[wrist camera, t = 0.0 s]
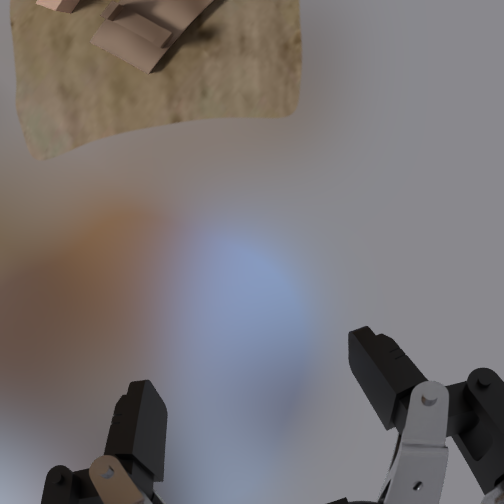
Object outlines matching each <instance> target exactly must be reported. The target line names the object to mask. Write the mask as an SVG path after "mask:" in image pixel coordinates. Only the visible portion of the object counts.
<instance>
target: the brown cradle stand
mask: <svg viewBox="0 0 504 504" xmlns="http://www.w3.org/2000/svg"><path fill="white" fill-rule="evenodd" d="M213 1H214V0H120V1H119V3H116V2H114V1H111V2H110V4H109V5H108V6H107V7H106V9H105V10H104V11H103V12H102V14H101V15H100V16H101V17H103V18H105V20H104V22H103V23H102V25H101V26H100V27H99V29H98V30H97V31H96V33H95V34H94V36H93V37H92V39H91V40H90V43H92V44H94V45H96V46H98V47H100V48H102V49H104V50H105V51H107V52H109V53H111V54H113V55H115V56H117V57H118V58H120V59H122V60H124V61H126V62H127V63H129V64H131V65H133V66H134V67H136V68H138V69H140V70H141V71H143V72H145V73H146V74H150V72H151V71H152V70H153V68H154V67H155V66H156V64H157V63H158V62H159V61H160V59H161V58H162V57H163V56H164V54H165V53H166V52H167V51H168V49H169V48H170V47H171V46H172V45H173V43H174V42H175V41H176V40H177V39H178V38H179V36H180V35H181V34H182V33H183V32H184V31H185V30H186V29H187V28H188V26H189V25H190V24H191V23H192V22H193V21H194V20H195V19H196V18H197V17H198V16H199V15H200V14H201V13H202V12H203V11H204V10H205V9H206V8H207V7H208V6H209V5H210V4H211V3H212V2H213Z"/></svg>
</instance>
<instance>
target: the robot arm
mask: <svg viewBox="0 0 504 504" xmlns="http://www.w3.org/2000/svg"><path fill="white" fill-rule="evenodd" d="M348 345H349V365H350V368H351V370H352V373H353V374H354V376H355V378H356V379H357V381H358V383H359V384H360V386H361V388H362V389H363V391H364V393H365V394H366V396H367V398H368V400H369V401H370V403H371V405H372V406H373V408H374V410H375V411H376V413H377V415H378V417H379V418H380V420H381V422H382V423H383V425H384V427H385V429H386V430H389V429H391V428H393V427H396V429H397V430H398V432H399V433H398V436H397V441H396V444H395V449H394V452H393V456H392V459H391V463H390V466H389V470H388V473H387V476H386V478H385V481H384V483H383V486H382V488H381V491H380V494H379V497H378V499H377V502H371V501H353V502H348V501H347V498H346V497H345V498H342V499H340V500H337V501H334V502H331V503H327V504H439V500H440V496H441V492H442V487H443V483H444V478H445V472H446V467H447V461H448V447H446V446H445V438H446V437H448V436H452V438H453V440H454V442H455V443H456V445H457V446H458V448H459V450H460V451H461V453H462V455H463V457H464V458H465V460H466V462H467V464H468V465H469V467H470V469H471V471H472V472H473V474H474V476H475V478H476V479H477V481H478V483H479V485H480V487H481V489H482V491H483V493H484V495H485V497H484V498H483V500H482V502H481V504H504V382H503V381H502V380H501V378H500V377H499V376H498V375H497V374H496V373H495V372H494V371H493V370H491V369H488V368H478V369H475V370H474V371H472V372H471V373H470V375H469V377H468V379H467V381H465V382H461V383H457V384H453V385H450V386H444V385H443V384H441V383H439V382H436V381H428V380H427V379H426V378H425V377H424V375H423V374H422V373H421V372H420V371H419V369H418V368H417V367H416V366H415V364H414V363H413V362H412V361H411V360H410V358H409V357H408V356H407V355H405V353H404V352H403V350H402V349H400V347H399V346H398V345H397V343H396V342H395V341H394V340H393V339H392V338H390V337H388V336H386V335H384V334H379V335H375V334H374V333H373V331H372V330H371V329H370V328H369V327H368V326H365V327H362V328H359V329H356V330H354V331H350V332H349V334H348ZM113 415H114V417H113V418H112V422H111V423H112V425H111V426H110V430H109V434H108V439H107V443H106V447H105V452H104V455H103V456H100V457H98V458H96V459H95V460H94V461H93V462H92V464H91V466H90V468H89V469H84V470H80V471H75V472H72V471H71V470H69V469H68V468H67V467H66V466H62V465H58V466H55V467H53V468H52V469H51V470H50V471H49V472H48V474H47V476H46V481H45V485H44V490H43V495H42V501H41V504H166V503H165V502H164V501H163V500H162V498H161V497H160V496H159V495H158V494H157V493H156V491H155V490H154V489H153V482H160V481H162V482H163V477H164V457H165V441H166V429H167V409H166V406H165V404H164V402H163V400H162V399H161V397H160V396H159V394H158V393H157V391H156V389H155V388H154V386H153V385H152V383H151V382H150V381H149V380H142V381H134V382H131V383H130V385H129V388H128V392H127V395H122V397H121V398H120V400H119V401H118V402H117V404H116V406H115V410H114V414H113Z"/></svg>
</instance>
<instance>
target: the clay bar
mask: <svg viewBox="0 0 504 504" xmlns="http://www.w3.org/2000/svg"><path fill="white" fill-rule="evenodd" d="M79 1H80V0H37V2H36V4H38V5H41V6H44V7H47V8H50V9H53V10H55V11H61V12H66V13H70V14H71V13H72V11H73V10H74V8H75V7H76V5H77V4H78V3H79Z"/></svg>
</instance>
